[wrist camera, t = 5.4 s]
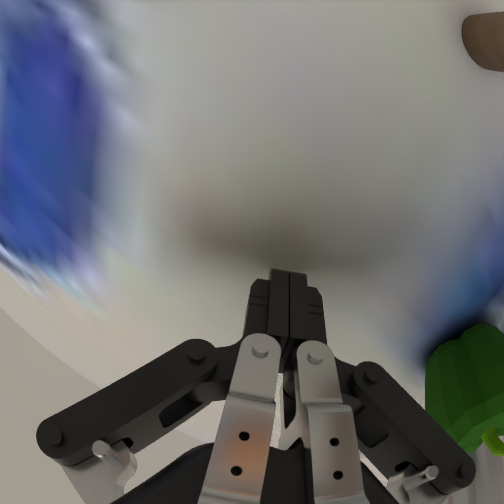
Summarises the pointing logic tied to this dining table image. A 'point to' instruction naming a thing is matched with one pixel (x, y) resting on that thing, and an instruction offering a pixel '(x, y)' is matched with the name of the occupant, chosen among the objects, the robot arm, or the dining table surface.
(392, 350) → the dining table surface
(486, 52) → the post
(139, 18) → the dining table surface
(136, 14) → the dining table surface
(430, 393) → the bell pepper
